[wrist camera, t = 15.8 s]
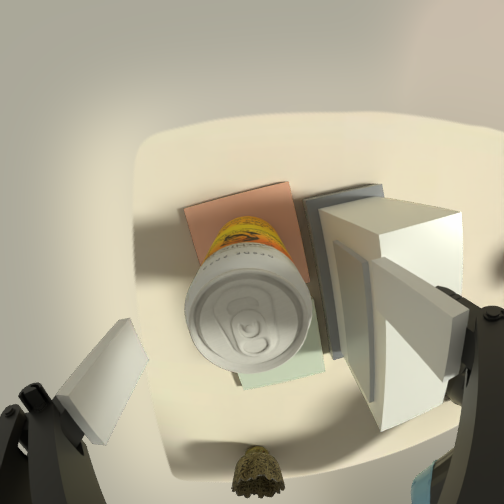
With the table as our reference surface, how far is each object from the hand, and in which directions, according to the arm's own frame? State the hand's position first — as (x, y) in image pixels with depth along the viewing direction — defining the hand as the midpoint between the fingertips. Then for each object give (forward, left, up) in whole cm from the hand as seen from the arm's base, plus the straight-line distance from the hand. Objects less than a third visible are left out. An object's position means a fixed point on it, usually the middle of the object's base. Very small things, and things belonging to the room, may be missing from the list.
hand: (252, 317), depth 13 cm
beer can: (0, 0, -14) cm, 14 cm away
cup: (-32, +7, -15) cm, 35 cm away
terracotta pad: (0, 0, -14) cm, 14 cm away
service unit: (-6, -10, -14) cm, 18 cm away
